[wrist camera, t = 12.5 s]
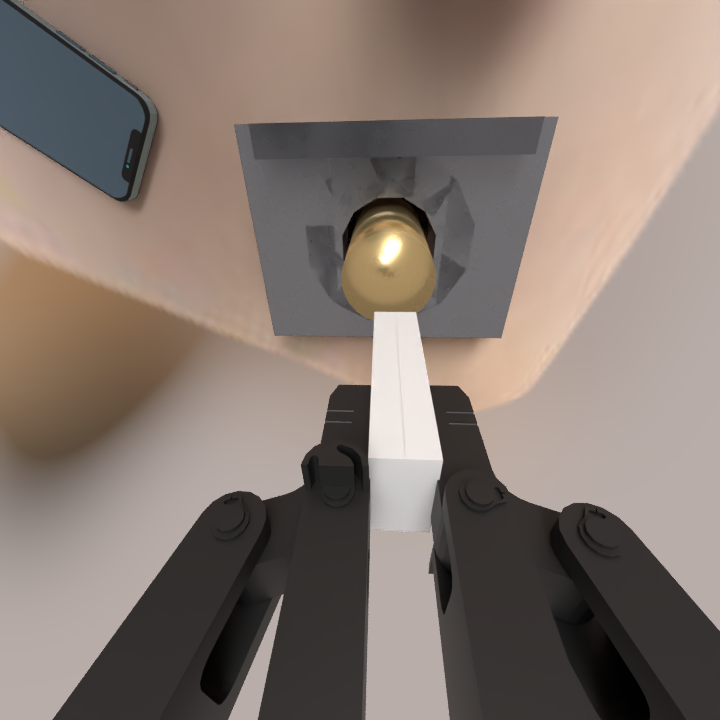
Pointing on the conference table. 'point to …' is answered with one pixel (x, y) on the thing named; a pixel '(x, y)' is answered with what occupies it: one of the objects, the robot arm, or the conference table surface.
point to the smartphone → (72, 104)
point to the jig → (394, 180)
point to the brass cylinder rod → (388, 260)
